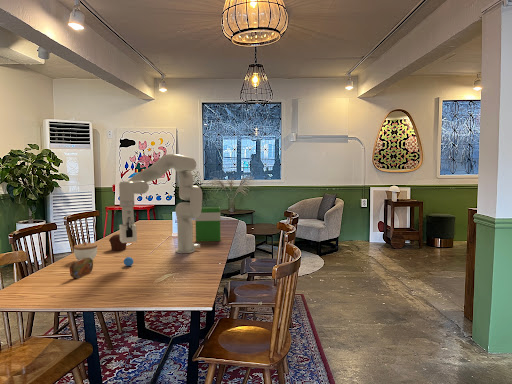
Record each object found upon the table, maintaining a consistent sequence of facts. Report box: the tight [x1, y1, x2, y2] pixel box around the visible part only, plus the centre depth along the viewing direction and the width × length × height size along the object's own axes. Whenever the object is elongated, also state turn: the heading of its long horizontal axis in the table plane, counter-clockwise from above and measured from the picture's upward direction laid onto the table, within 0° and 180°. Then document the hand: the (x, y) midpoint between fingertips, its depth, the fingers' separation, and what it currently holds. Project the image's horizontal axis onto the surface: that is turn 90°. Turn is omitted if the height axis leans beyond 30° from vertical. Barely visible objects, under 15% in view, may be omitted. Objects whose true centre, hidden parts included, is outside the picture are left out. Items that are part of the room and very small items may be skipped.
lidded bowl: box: [73, 241, 98, 261], centre depth 217 cm, size 13×13×11 cm
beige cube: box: [118, 223, 138, 243], centre depth 204 cm, size 8×8×9 cm
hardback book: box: [195, 206, 222, 242], centre depth 275 cm, size 18×7×24 cm, turn 93°
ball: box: [123, 256, 134, 267], centre depth 205 cm, size 5×5×5 cm
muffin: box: [108, 233, 127, 252], centre depth 246 cm, size 12×11×10 cm
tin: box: [69, 258, 94, 279], centre depth 187 cm, size 15×3×8 cm, turn 168°
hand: (128, 235), depth 204 cm, fingers closed on beige cube, 7 cm apart
